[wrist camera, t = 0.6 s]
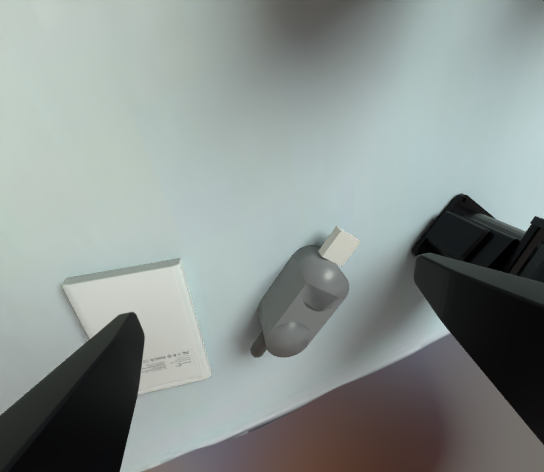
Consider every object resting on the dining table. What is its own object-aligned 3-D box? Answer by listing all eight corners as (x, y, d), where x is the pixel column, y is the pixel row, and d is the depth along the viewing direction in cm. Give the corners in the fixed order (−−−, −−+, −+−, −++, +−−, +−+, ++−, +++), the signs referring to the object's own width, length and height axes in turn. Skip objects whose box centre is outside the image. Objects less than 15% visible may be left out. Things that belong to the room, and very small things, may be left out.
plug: (267, 348, 28) (276, 384, 24) (235, 337, 26) (239, 374, 23) (353, 233, 24) (378, 256, 20) (321, 214, 23) (341, 235, 19)
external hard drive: (181, 254, 22) (211, 364, 28) (69, 274, 21) (123, 384, 27) (179, 265, 21) (211, 379, 26) (58, 286, 20) (118, 401, 25)
